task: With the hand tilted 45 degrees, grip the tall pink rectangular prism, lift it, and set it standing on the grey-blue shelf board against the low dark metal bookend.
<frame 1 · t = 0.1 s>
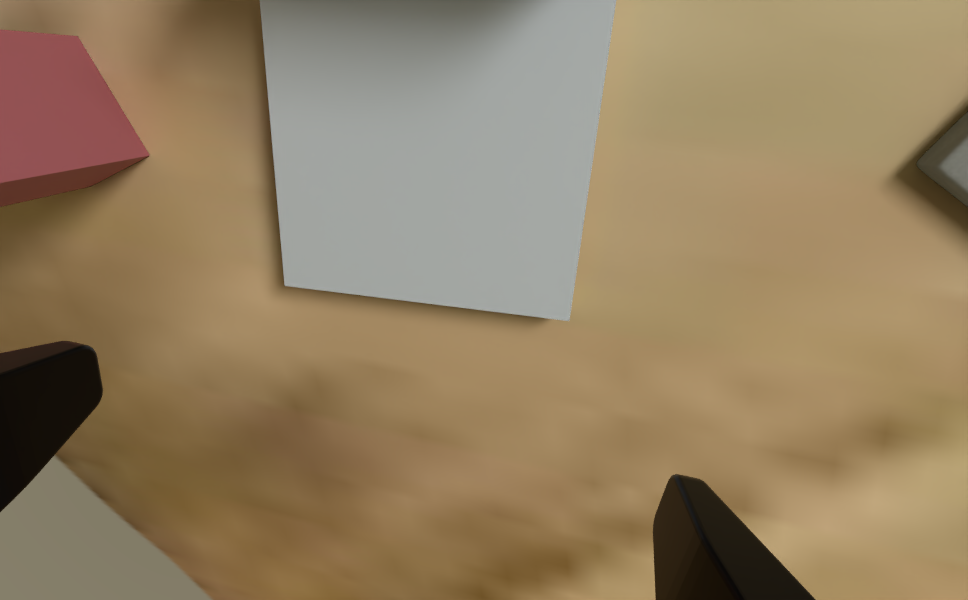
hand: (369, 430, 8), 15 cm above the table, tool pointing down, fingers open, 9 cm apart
tall pink rectangular prism: (84, 115, 22), on the table
shelf: (436, 121, 20), on the table
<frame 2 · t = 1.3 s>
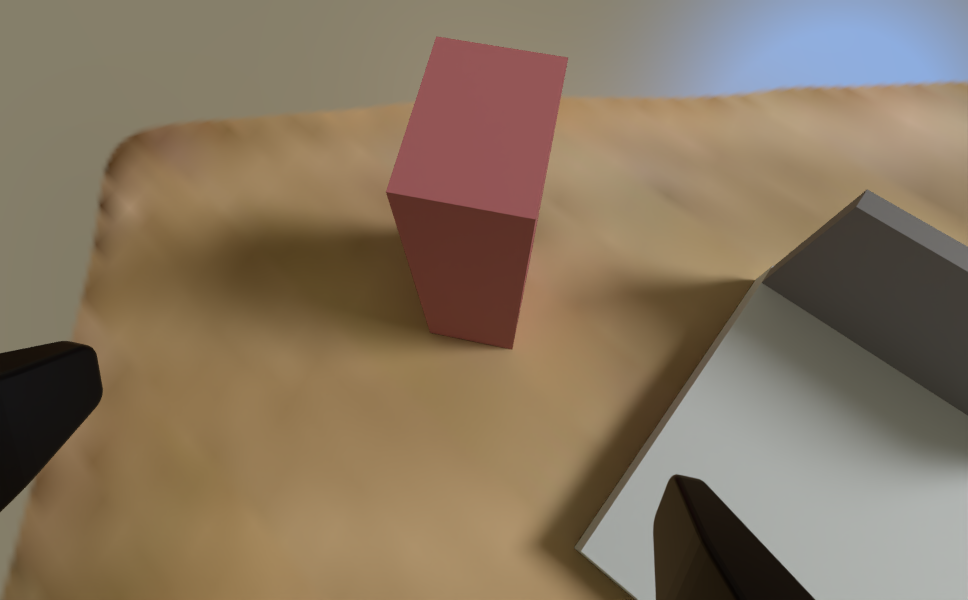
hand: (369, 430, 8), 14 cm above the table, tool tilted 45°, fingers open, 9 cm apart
tall pink rectangular prism: (483, 288, 24), on the table
shelf: (807, 499, 20), on the table
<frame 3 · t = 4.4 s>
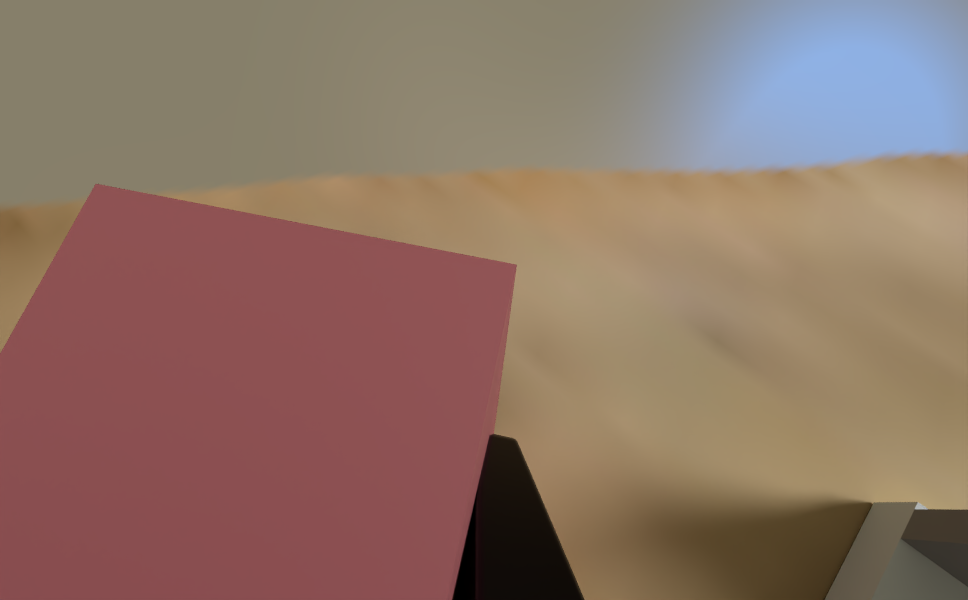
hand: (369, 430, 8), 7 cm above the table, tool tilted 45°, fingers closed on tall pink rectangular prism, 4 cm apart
tall pink rectangular prism: (405, 517, 14), on the table, touching gripper
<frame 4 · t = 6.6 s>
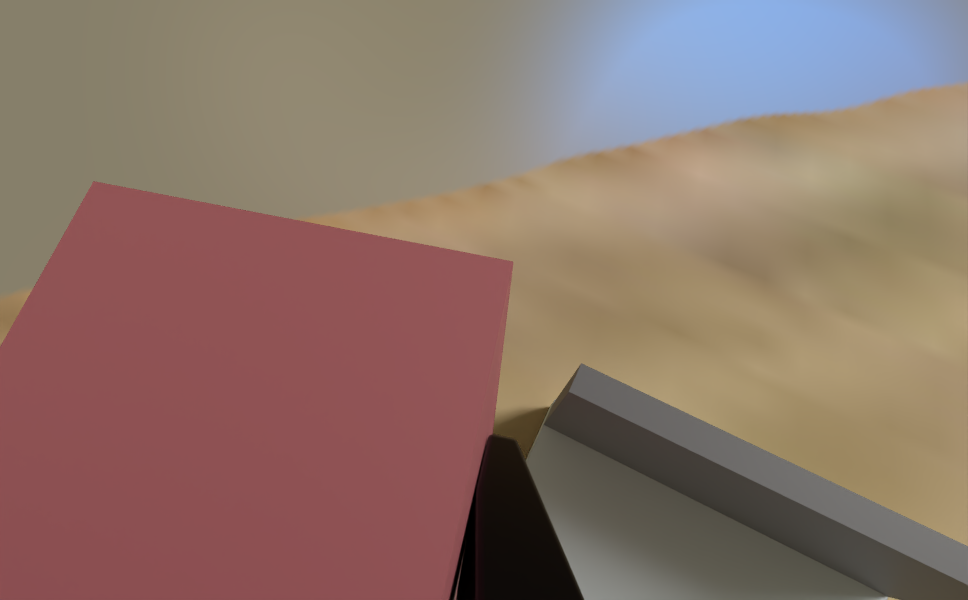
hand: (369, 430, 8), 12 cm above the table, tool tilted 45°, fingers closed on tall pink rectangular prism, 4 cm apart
tall pink rectangular prism: (404, 516, 14), point 6 cm above the table, touching gripper
when the fingers open (9 cm above the table, at t = 8.8 s): tall pink rectangular prism stays where it is, resting on shelf.
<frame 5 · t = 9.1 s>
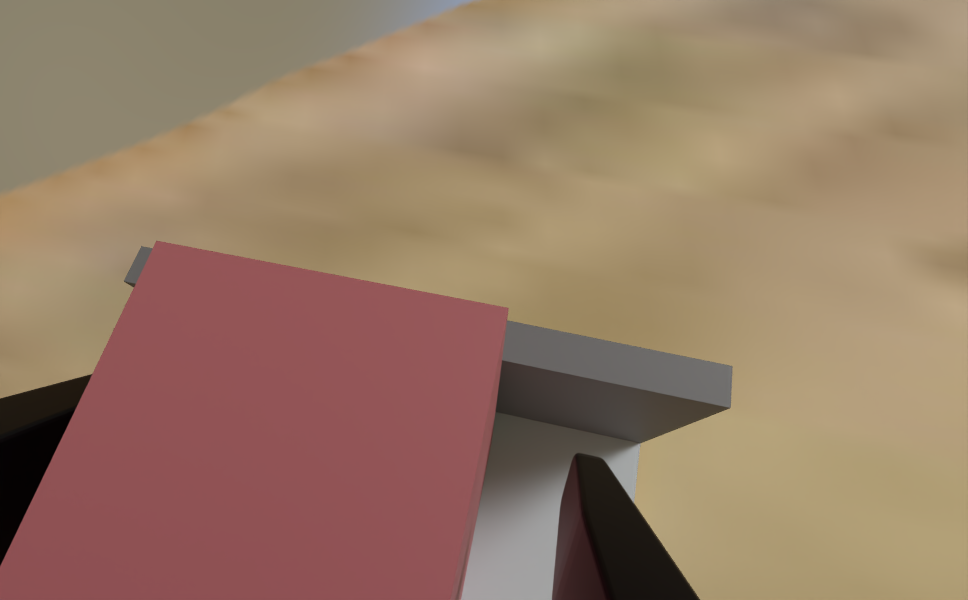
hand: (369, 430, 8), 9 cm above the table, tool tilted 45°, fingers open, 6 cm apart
tall pink rectangular prism: (410, 517, 15), point 1 cm above the table, touching shelf
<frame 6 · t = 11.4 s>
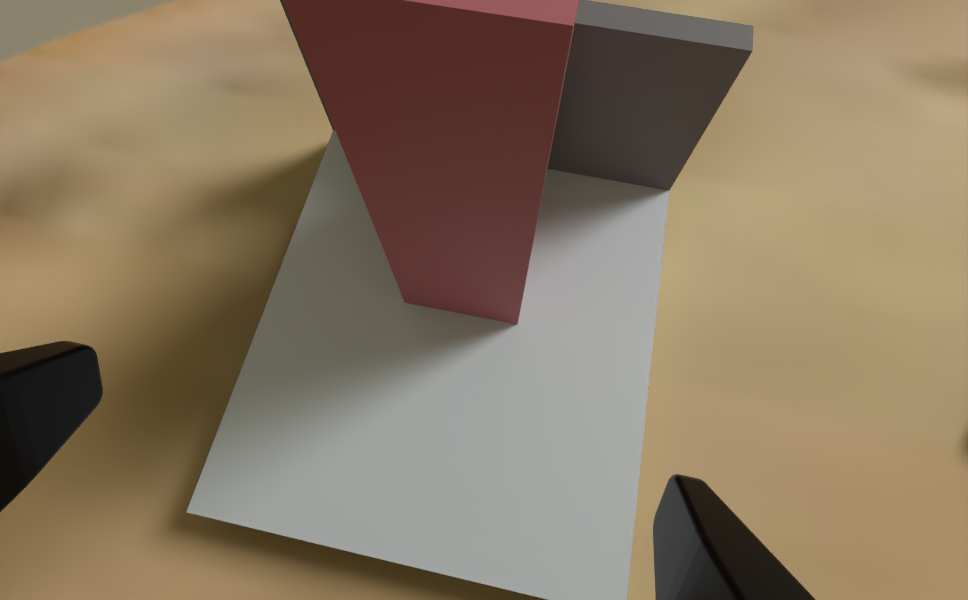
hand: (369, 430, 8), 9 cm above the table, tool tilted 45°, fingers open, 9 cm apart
tall pink rectangular prism: (477, 243, 17), point 1 cm above the table, touching shelf
shelf: (460, 332, 18), on the table
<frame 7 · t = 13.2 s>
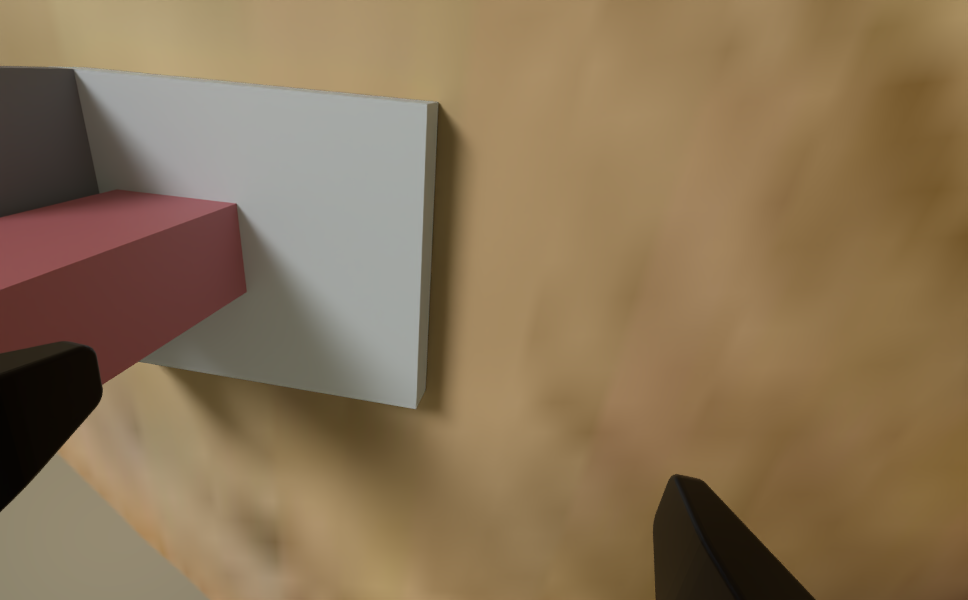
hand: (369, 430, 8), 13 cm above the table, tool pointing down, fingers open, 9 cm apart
tall pink rectangular prism: (183, 241, 21), point 1 cm above the table, touching shelf
shelf: (267, 240, 22), on the table
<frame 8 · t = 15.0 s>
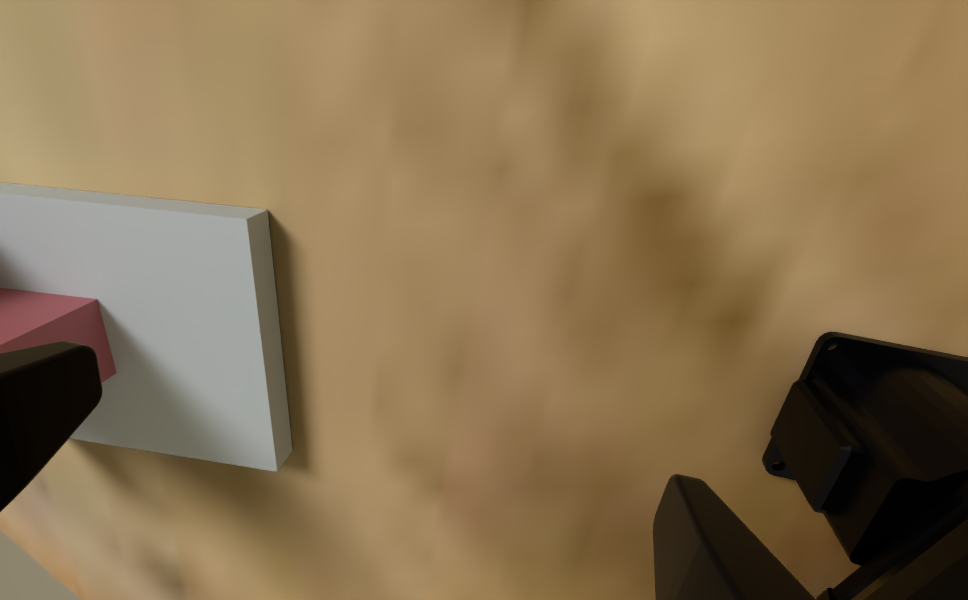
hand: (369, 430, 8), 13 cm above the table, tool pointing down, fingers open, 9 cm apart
tall pink rectangular prism: (55, 330, 23), point 1 cm above the table, touching shelf
shelf: (137, 323, 24), on the table
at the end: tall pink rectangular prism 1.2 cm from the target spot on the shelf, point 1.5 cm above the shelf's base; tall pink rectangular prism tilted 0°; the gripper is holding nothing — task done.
